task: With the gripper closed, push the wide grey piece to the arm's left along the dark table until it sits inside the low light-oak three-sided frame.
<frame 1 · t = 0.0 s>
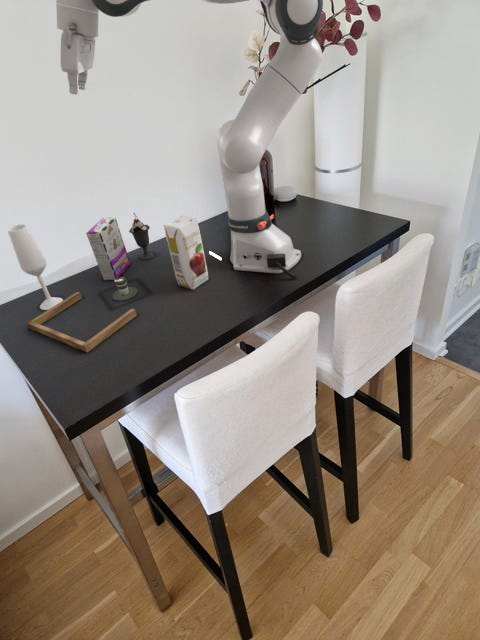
hand: (78, 91, 105), 52 cm above the table, tool tilted 20°, fingers open, 8 cm apart
juice carton: (193, 282, 126), on the table
candy bar box: (117, 272, 139), on the table
sundae: (147, 257, 145), on the table
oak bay: (83, 322, 116), on the table
champagne flute: (51, 304, 127), on the table
grey piece: (124, 294, 126), on the table
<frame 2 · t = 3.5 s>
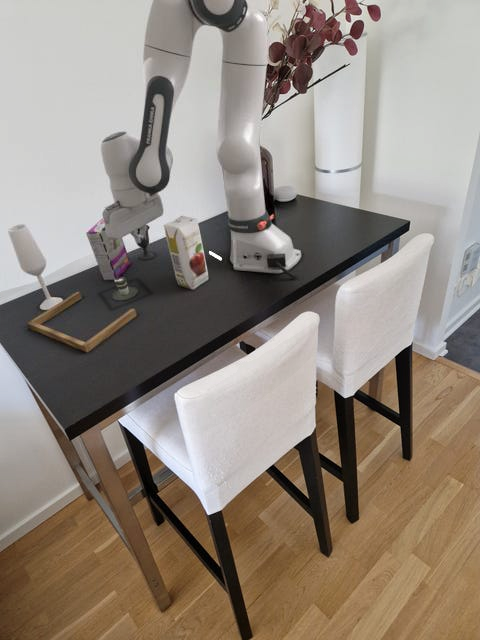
hand: (141, 241, 127), 11 cm above the table, tool pointing down, fingers closed
nothing on the table moved.
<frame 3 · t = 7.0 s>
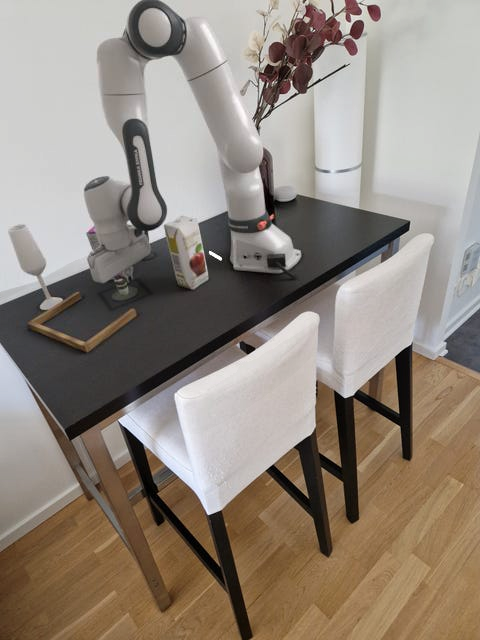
hand: (128, 281, 126), 3 cm above the table, tool pointing down, fingers closed
grey piece: (124, 294, 126), on the table, touching gripper
everything else where it was.
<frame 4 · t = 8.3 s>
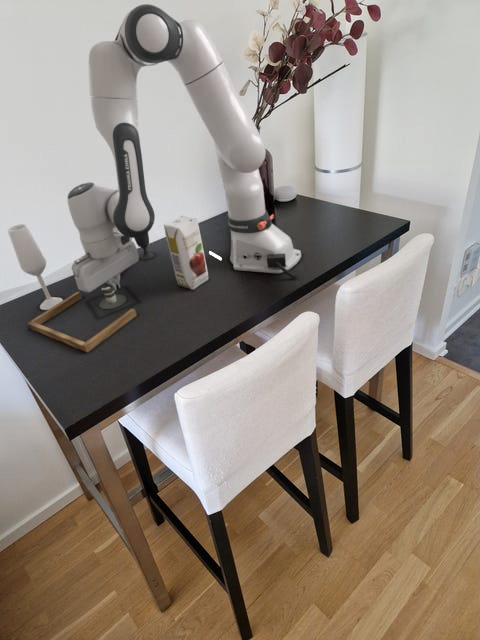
hand: (116, 289, 123), 3 cm above the table, tool pointing down, fingers closed
grey piece: (112, 302, 123), on the table, touching gripper
everything else where it was.
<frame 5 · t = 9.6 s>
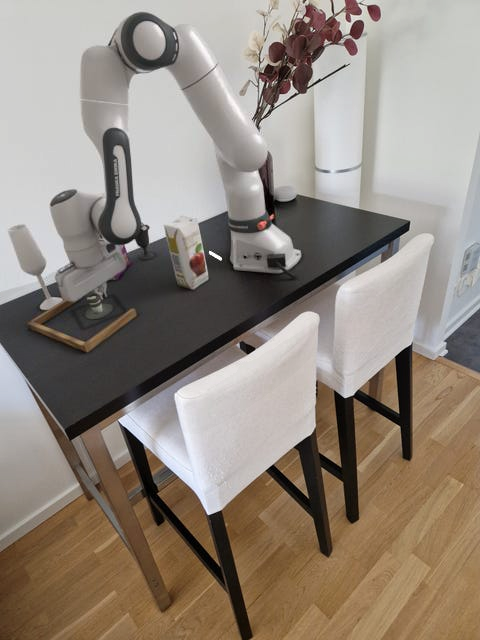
hand: (102, 298, 120), 3 cm above the table, tool pointing down, fingers closed
grey piece: (98, 312, 120), on the table, touching gripper
everything else where it was.
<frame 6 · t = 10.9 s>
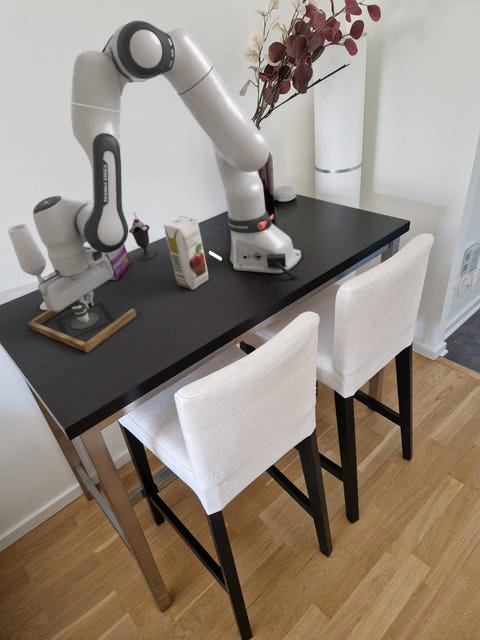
hand: (88, 307, 117), 3 cm above the table, tool pointing down, fingers closed
grey piece: (84, 321, 116), on the table, touching gripper, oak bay
everything else where it was.
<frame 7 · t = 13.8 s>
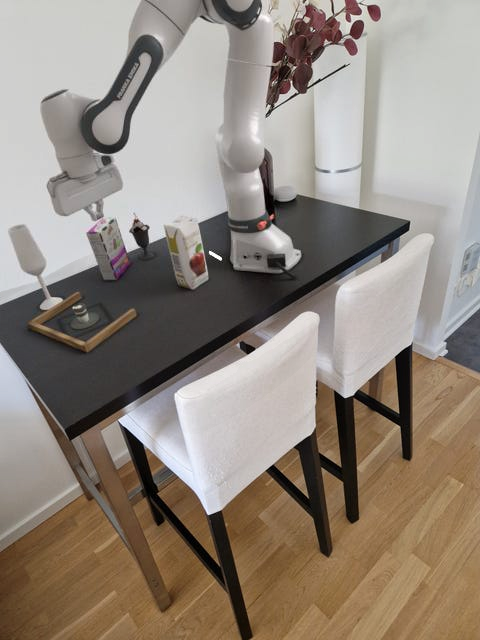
hand: (98, 218, 113), 23 cm above the table, tool pointing down, fingers closed
grey piece: (84, 321, 116), on the table
everything else where it was.
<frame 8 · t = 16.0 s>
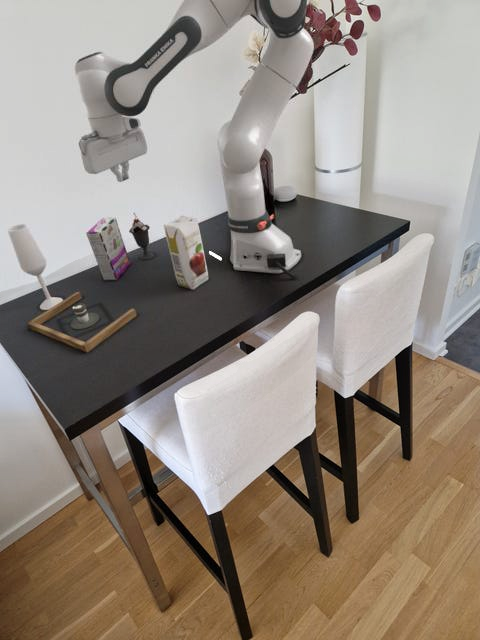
hand: (123, 180, 119), 29 cm above the table, tool pointing down, fingers closed
nothing on the table moved.
at the end: grey piece inside the target area (2.7 cm from its centre), on the table; grey piece moved 15.1 cm from its start; grey piece tilted 0° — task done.
